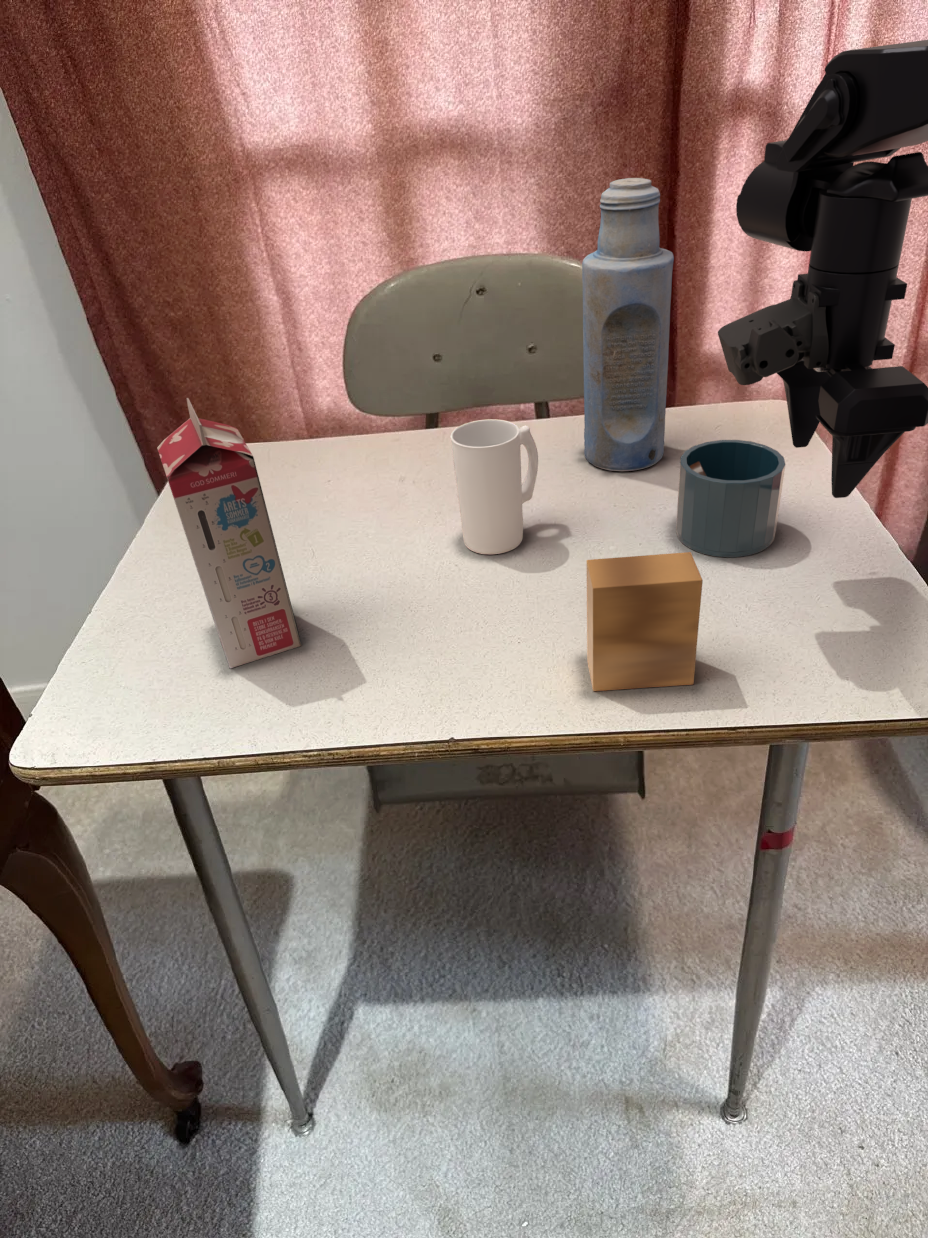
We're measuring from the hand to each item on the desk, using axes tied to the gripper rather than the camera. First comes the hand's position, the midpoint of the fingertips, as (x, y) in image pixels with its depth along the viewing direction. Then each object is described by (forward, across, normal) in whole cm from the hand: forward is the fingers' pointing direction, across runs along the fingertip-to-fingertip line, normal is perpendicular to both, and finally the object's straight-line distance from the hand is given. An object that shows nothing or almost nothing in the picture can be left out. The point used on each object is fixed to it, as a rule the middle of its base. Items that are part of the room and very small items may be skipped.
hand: (818, 470), depth 67 cm
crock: (+13, -13, -3) cm, 19 cm away
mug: (+13, -16, -25) cm, 33 cm away
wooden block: (+13, +8, -15) cm, 22 cm away
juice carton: (+13, -1, -49) cm, 51 cm away
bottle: (+13, -33, -10) cm, 37 cm away
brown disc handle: (+9, -14, -5) cm, 17 cm away
